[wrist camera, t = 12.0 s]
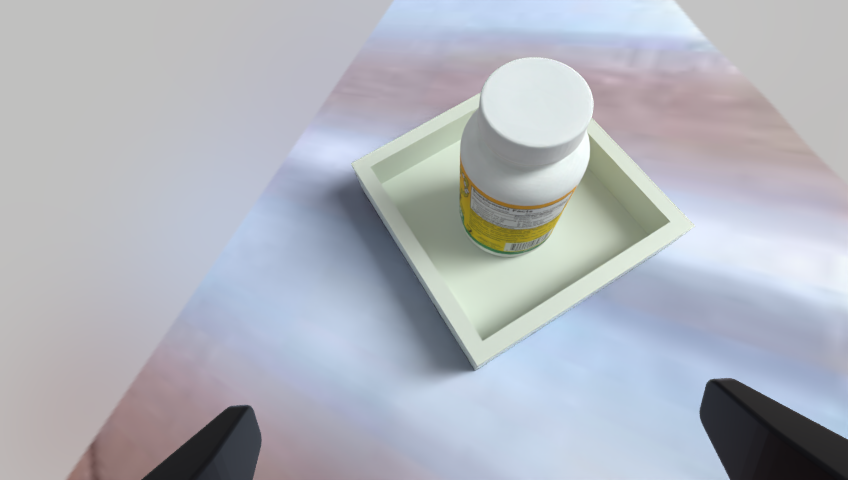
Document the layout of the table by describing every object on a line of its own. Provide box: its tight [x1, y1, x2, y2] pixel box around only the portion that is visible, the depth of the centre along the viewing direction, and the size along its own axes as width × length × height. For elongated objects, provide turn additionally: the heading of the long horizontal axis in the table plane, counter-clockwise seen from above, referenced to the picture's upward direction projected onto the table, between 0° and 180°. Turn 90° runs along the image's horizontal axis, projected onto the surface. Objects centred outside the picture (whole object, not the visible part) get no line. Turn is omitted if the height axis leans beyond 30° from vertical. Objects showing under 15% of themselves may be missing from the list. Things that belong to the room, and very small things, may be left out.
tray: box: [351, 93, 695, 371], centre depth 23 cm, size 13×13×3 cm
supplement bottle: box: [459, 57, 593, 257], centre depth 19 cm, size 5×5×10 cm
